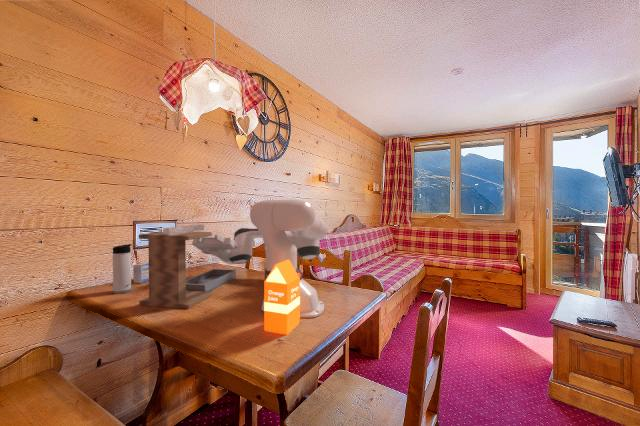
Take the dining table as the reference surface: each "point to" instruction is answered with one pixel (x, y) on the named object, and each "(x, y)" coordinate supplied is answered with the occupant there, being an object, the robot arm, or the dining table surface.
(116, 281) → the travel mug
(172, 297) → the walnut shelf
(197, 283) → the blue-gray tray
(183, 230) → the bar
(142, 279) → the medicine box
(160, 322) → the dining table surface
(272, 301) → the orange juice
